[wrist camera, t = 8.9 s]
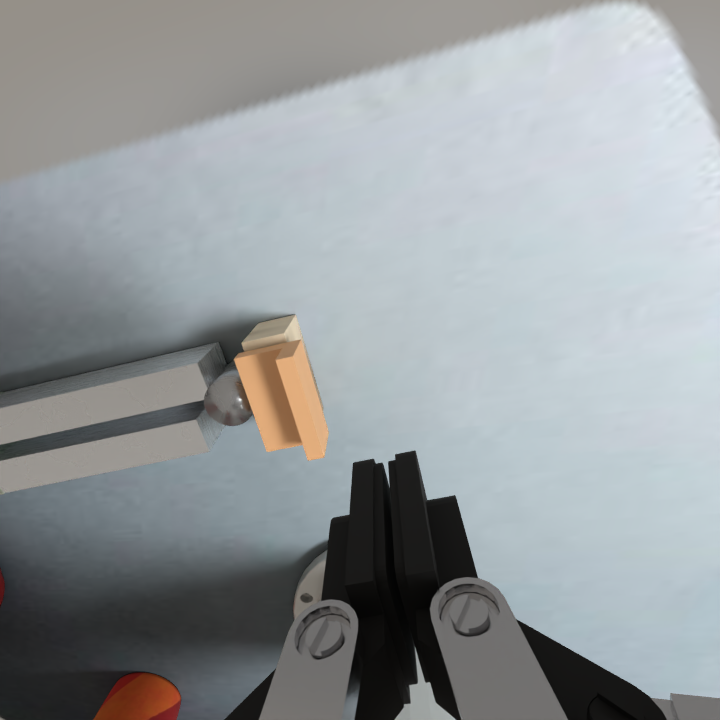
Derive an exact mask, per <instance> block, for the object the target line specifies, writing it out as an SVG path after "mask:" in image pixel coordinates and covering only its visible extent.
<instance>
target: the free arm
mask: <svg viewBox="0 0 720 720" xmlns="http://www.w3.org/2000/svg"><path fill="white" fill-rule="evenodd" d="M201 400H204V406H205V409H206V411H207V413H208V414H209V415H210V417H211V418H213V419H214V420H215V421H217V422H218V423H221V424H223V425H227V426H236V425H240V424H242V423H244V422H246V421H247V420H248V419H249V418H250V417H251V415H252V413H253V411H252V409H251V406H250V403H249V400H248V397H247V395H246V392H245V389H244V386H243V383H242V381H241V378H240V375H239V372H238V369H237V367H236V364H235V361H234V360H233V361H231V362H230V363H229V364H228V365H227V363H226V360H225V358H224V355H223V352H222V349H221V347H220V344H219V342H216V343H212V344H208V345H203V346H199V347H195V348H190V349H186V350H182V351H178V352H173V353H169V354H165V355H160V356H156V357H152V358H148V359H143V360H139V361H135V362H131V363H126V364H122V365H118V366H113V367H109V368H105V369H101V370H96V371H92V372H88V373H83V374H79V375H75V376H71V377H66V378H62V379H58V380H54V381H49V382H45V383H41V384H36V385H32V386H28V387H24V388H19V389H15V390H11V391H3V392H0V445H1V444H6V443H10V442H15V441H19V440H24V439H28V438H33V437H37V436H42V435H46V434H51V433H56V432H60V431H65V430H69V429H74V428H78V427H83V426H87V425H92V424H96V423H101V422H106V421H110V420H115V419H119V418H124V417H128V416H133V415H137V414H142V413H146V412H151V411H155V410H160V409H165V408H169V407H174V406H178V405H183V404H187V403H192V402H196V401H201Z"/></svg>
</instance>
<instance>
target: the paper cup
mask: <svg viewBox="0 0 720 720" xmlns="http://www.w3.org/2000/svg"><path fill="white" fill-rule="evenodd" d="M180 704H181V695H180V693H179V691H178V689H177V688H176V686H175V685H174V684H172V683H171V682H170V681H169V680H167V679H165V678H163V677H161V676H159V675H156V674H152V673H145V672H137V673H131V674H127V675H125V676H123V677H121V678H120V679H119V680H118V681H117V682H116V684H115V685H114V687H113V688H112V690H111V691H110V693H109V694H108V696H107V698H106V699H105V701H104V703H103V704H102V706H101V708H100V709H99V711H98V713H97V714H96V716H95V718H94V719H93V720H176V719H177V716H178V712H179V708H180Z"/></svg>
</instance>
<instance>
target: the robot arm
mask: <svg viewBox="0 0 720 720" xmlns="http://www.w3.org/2000/svg"><path fill="white" fill-rule="evenodd" d="M388 465H389V482H390V488H389V484H388V480H387V476H386V473H385V469H384V465H383V463H378V464H376V463H375V461H374V459H370V460H365V461H359V462H354V463H353V471H352V486H351V500H350V515H346V516H340V517H335V518H332V520H331V524H330V532H329V540H328V548H327V550H326V551H325V552H323V553H322V554H321V555H319V556H318V557H317V558H315V559H314V560H313V561H312V562H311V564H310V565H309V566H308V567H307V568H306V569H305V571H304V572H303V574H302V576H301V578H300V580H299V582H298V585H297V589H296V593H295V598H294V606H293V614H294V622H293V624H292V626H291V628H290V630H289V632H288V635H287V638H286V641H285V644H284V647H283V650H282V653H281V656H280V659H279V661H278V664H277V667H276V669H275V670H274V671H273V672H272V673H271V674H270V675H269V676H268V677H267V678H266V679H265V680H264V681H263V682H262V683H261V684H260V685H259V686H258V687H257V688H256V689H255V690H254V691H253V692H252V693H251V694H250V695H249V696H248V697H247V698H246V699H245V700H244V701H243V702H242V703H241V704H240V705H239V706H238V707H237V708H236V709H235V710H234V711H233V712H232V713H231V714H230V715H229V716H228V717H227V718H225V719H224V720H720V698H711V697H702V696H692V695H682V694H672V693H670V700H664V699H655V698H650V697H649V696H648V695H646V694H645V693H644V692H642V691H641V690H639V689H638V688H637V687H635V686H634V685H632V684H630V683H628V682H627V681H625V680H623V679H621V678H620V677H618V676H616V675H614V674H612V673H611V672H609V671H607V670H605V669H604V668H602V667H600V666H598V665H597V664H595V663H593V662H591V661H589V660H588V659H586V658H584V657H582V656H581V655H579V654H577V653H575V652H573V651H572V650H570V649H568V648H566V647H565V646H563V645H561V644H559V643H557V642H556V641H554V640H552V639H550V638H549V637H547V636H545V635H543V634H542V633H540V632H538V631H536V630H534V629H533V628H531V627H529V626H527V625H526V624H524V623H522V622H520V621H518V620H517V619H516V618H515V617H514V615H513V613H512V611H511V609H510V607H509V605H508V603H507V601H506V599H505V597H504V596H503V595H502V593H501V592H500V591H499V589H498V588H496V587H495V586H494V585H492V584H491V583H489V582H487V581H484V580H482V579H479V578H478V576H477V573H476V569H475V565H474V562H473V558H472V554H471V551H470V547H469V543H468V540H467V536H466V532H465V529H464V525H463V521H462V518H461V514H460V510H459V507H458V503H457V499H456V496H455V495H454V496H449V497H444V498H438V499H433V500H427V498H426V493H425V489H424V485H423V481H422V476H421V472H420V468H419V463H418V459H417V455H416V451H410V452H405V453H400V454H395V460H393V461H389V462H388Z"/></svg>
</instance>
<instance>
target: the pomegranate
mask: <svg viewBox="0 0 720 720" xmlns="http://www.w3.org/2000/svg"><path fill="white" fill-rule="evenodd" d="M4 589H5V583H4V578H3V576H2V572H1V568H0V606H1V603H2V600H3V596H4Z"/></svg>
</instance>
